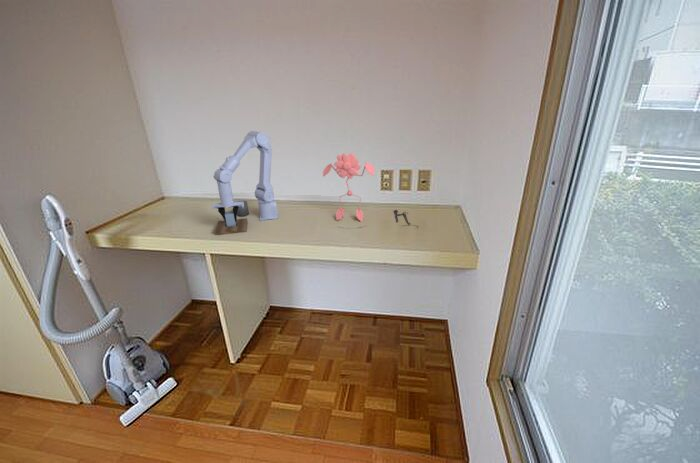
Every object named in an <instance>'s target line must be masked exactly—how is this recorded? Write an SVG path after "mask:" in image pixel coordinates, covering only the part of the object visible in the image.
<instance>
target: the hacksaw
mask: <svg viewBox="0 0 700 463" xmlns="http://www.w3.org/2000/svg"><path fill="white" fill-rule="evenodd" d="M393 213H394V217H395V218H394V219H395V222H396V223H399V218H398V217H399V216H403V218H404V220H405V223H406V224H403V225H402V227H406V226H407V227H408V226H409V227H411V226H414V227H416V228H414V229H415V230H416V229H417V228H419V226H418V225H414V224H411V222H409V220H408V217H407V214H406V211H404V212H402V213H400V214H399V211H398V210H397V209H394V210H393Z"/></svg>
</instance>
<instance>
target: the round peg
mask: <svg viewBox="0 0 700 463" xmlns="http://www.w3.org/2000/svg"><path fill="white" fill-rule="evenodd" d="M237 202H244V207H242V206H239V208H238V211H237V218H243V217H247V216H249V215H250V210H249V205H248V201H247V200H238V201H237Z"/></svg>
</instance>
